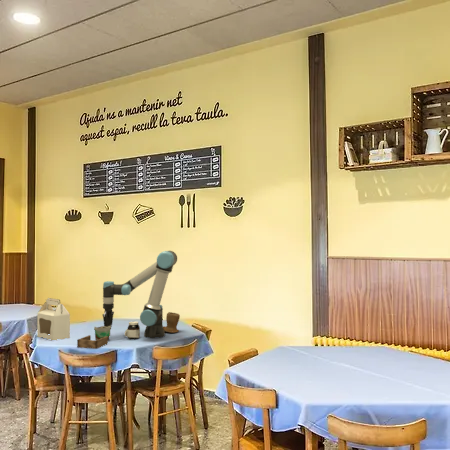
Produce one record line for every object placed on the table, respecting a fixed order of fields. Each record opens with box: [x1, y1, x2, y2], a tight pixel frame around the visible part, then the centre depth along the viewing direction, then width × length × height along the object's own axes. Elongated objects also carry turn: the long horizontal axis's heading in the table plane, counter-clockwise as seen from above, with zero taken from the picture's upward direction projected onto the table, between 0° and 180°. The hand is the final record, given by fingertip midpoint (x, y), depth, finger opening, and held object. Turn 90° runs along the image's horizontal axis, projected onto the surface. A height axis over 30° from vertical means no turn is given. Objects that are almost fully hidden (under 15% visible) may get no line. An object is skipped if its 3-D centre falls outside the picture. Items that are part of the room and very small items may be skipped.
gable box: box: [36, 297, 71, 341], centre depth 363 cm, size 22×13×28 cm, turn 50°
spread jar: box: [124, 320, 141, 340], centre depth 361 cm, size 12×11×12 cm
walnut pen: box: [76, 334, 109, 350], centre depth 337 cm, size 14×15×5 cm
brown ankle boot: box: [163, 311, 181, 334], centre depth 383 cm, size 15×12×15 cm
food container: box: [93, 325, 112, 341], centre depth 351 cm, size 12×6×10 cm, turn 126°
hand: (108, 336), depth 358 cm, fingers closed
